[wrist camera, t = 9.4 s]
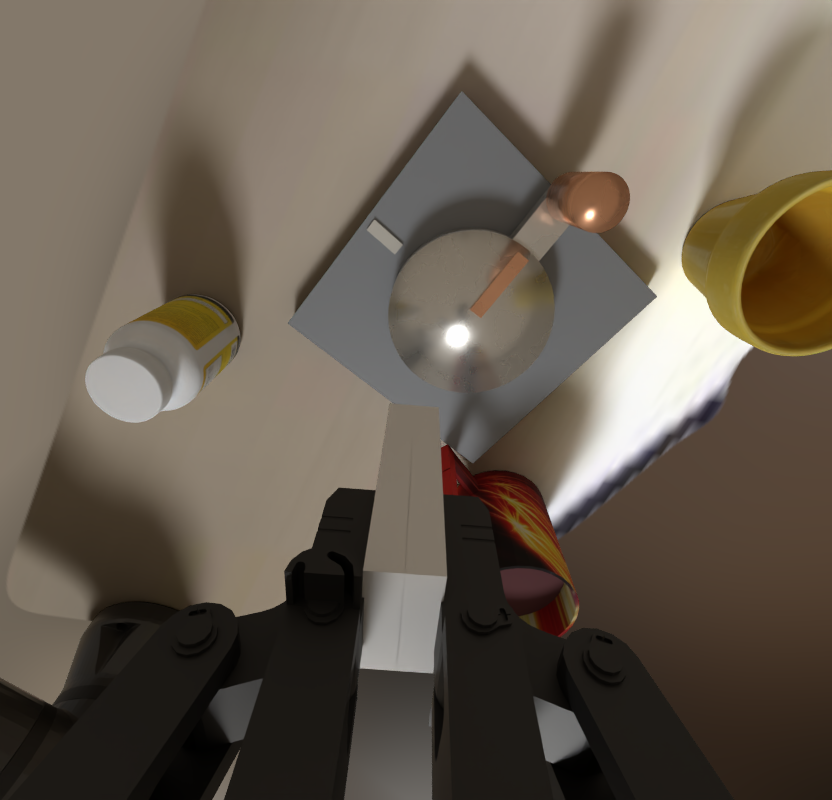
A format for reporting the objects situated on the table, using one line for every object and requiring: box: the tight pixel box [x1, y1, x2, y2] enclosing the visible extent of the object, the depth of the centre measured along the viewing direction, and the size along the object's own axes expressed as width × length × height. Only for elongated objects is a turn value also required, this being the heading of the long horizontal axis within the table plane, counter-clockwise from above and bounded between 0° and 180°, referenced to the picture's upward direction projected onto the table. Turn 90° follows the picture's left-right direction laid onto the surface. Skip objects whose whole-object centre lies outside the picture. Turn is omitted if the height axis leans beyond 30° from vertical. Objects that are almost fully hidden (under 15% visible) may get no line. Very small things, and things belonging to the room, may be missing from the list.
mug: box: [441, 444, 579, 637], centre depth 41 cm, size 10×14×12 cm
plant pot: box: [682, 170, 832, 356], centre depth 30 cm, size 10×10×10 cm
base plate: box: [288, 91, 657, 463], centre depth 36 cm, size 20×20×2 cm
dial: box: [388, 172, 630, 393], centre depth 31 cm, size 18×12×8 cm
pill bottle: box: [85, 294, 240, 422], centre depth 33 cm, size 6×6×12 cm
